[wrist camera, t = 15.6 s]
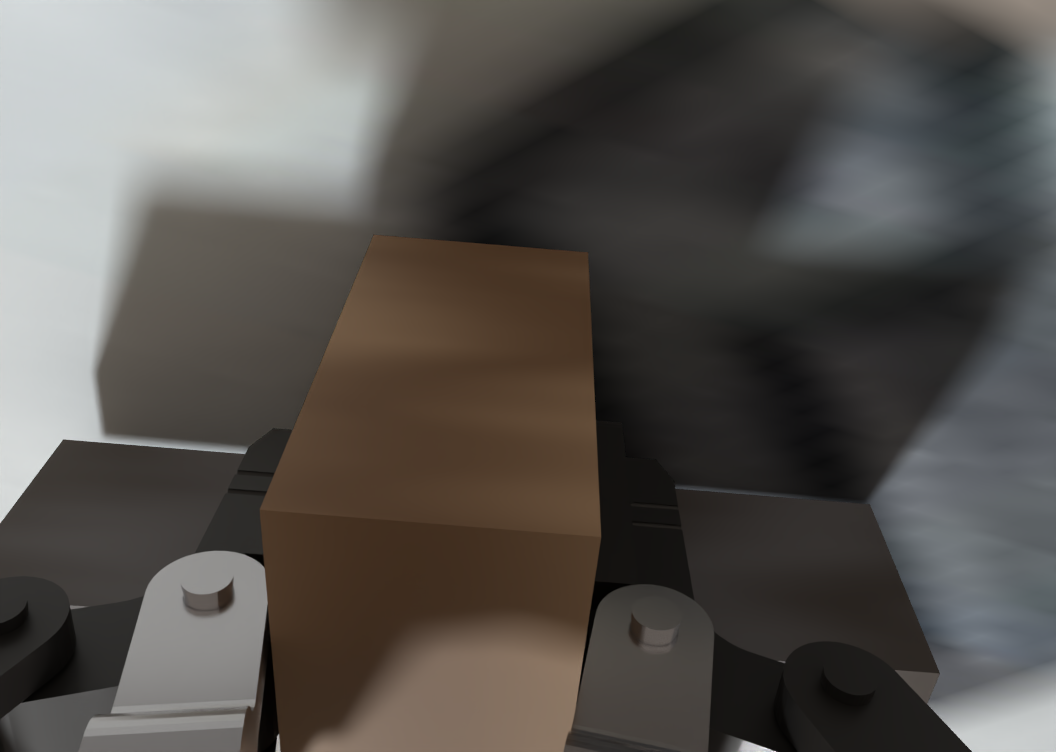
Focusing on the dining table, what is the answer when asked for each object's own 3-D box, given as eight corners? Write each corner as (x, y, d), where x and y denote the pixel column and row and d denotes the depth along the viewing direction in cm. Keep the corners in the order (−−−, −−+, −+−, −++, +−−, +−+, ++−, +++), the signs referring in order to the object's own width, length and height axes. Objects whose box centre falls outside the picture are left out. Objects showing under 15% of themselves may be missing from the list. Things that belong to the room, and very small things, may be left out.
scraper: (943, 281, 14) (1165, 582, 9) (851, 560, 17) (979, 913, 11) (13, 204, 14) (-316, 463, 9) (75, 498, 16) (-146, 827, 11)
